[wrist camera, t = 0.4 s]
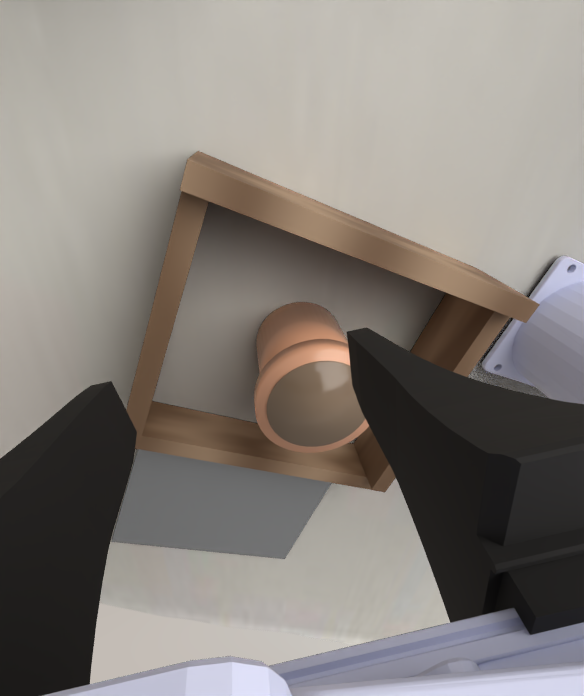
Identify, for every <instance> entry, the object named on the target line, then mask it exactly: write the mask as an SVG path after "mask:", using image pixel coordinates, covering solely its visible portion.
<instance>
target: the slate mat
mask: <svg viewBox="0 0 584 696" xmlns="http://www.w3.org/2000/svg"><path fill="white" fill-rule="evenodd" d="M330 485H331V483H330V482H325V481H319V480H313V479H307V478H302V477H296V476H290V475H284V474H278V473H273V472H267V471H261V470H255V469H250V468H244V467H238V466H232V465H227V464H221V463H215V462H209V461H204V460H198V459H192V458H186V457H181V456H175V455H169V454H163V453H157V452H152V451H146V450H140V449H138V451H137V454H136V458H135V461H134V465H133V468H132V472H131V475H130V479H129V482H128V486H127V489H126V493H125V496H124V500H123V503H122V507H121V510H120V514H119V517H118V521H117V524H116V528H115V531H114V535H113V538H112V542H120V543H130V544H140V545H150V546H160V547H170V548H180V549H190V550H200V551H210V552H219V553H229V554H239V555H249V556H259V557H269V558H279V559H285V558H286V556H287V554H288V553H289V551H290V550H291V548H292V546H293V545H294V543H295V541H296V540H297V538H298V537H299V535H300V533H301V532H302V530H303V528H304V527H305V525H306V524H307V522H308V520H309V519H310V517H311V516H312V514H313V512H314V511H315V509H316V507H317V506H318V504H319V503H320V501H321V499H322V498H323V496H324V494H325V493H326V491H327V490H328V488H329V486H330Z"/></svg>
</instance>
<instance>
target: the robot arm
mask: <svg viewBox="0 0 584 696" xmlns="http://www.w3.org/2000/svg"><path fill="white" fill-rule="evenodd" d="M570 265H571V266H570ZM569 266H570V268H569V269H568V267H569ZM567 269H568V270H567ZM529 298H530V299H531V300H533V301H535V302H537V303H538V304H540V305H539V306H538V308H537V309H536V310H535V312H534V313H533V314H532V316H531V317H530V319H529V320H528V321H527V323H524V322H521V321H519V320H516V319H513V320H512V321H511V323H510V324H509V326H508V327H507V328H506V330H505V331H504V332H503V334H502V335H501V337H500V338H499V339H498V341H497V342H496V344H495V345H494V346H493V348H492V349H491V351H490V352H489V353H488V355H487V356H486V357H485V359H484V360H483V362H482V368H483V369H484V370H485V371H487V372H490V373H493V374H497V375H500V376H503V377H506V378H509V379H512V380H515V381H519V382H522V383H525V384H528V385H531V386H534V387H536V388H538V389H539V390H540V391H541V392H542V393H544V394H545V395H546V396H547V397H548V398H543V397H538V396H533V395H529V394H524V393H520V392H516V391H512V390H508V389H504V388H501V387H497V386H494V385H490V384H486V383H483V382H480V381H477V380H474V379H471V378H468V377H465V376H463V375H460V374H457V373H454V372H452V371H449V370H447V369H444V368H442V367H440V366H437V365H435V364H433V363H431V362H429V361H427V360H424V359H422V358H420V357H418V356H416V355H414V354H412V353H411V352H409V351H407V350H405V349H403V348H401V347H399V346H398V345H396V344H394V343H392V342H391V341H389V340H387V339H386V338H384V337H382V336H380V335H379V334H377V333H375V332H374V331H372V330H370V329H368V328H363V329H358V330H353V331H348V332H347V337H348V347H349V357H350V367H351V377H352V386H353V389H354V392H355V394H356V397H357V400H358V403H359V405H360V408H361V411H362V413H363V415H364V417H365V419H366V421H367V423H368V425H369V426H370V428H371V430H372V432H373V434H374V436H375V438H376V440H377V442H378V444H379V445H380V447H381V449H382V451H383V453H384V455H385V457H386V459H387V461H388V463H389V464H390V466H391V468H392V470H393V472H394V474H395V477H396V479H397V481H398V483H399V485H400V488H401V490H402V493H403V495H404V498H405V500H406V503H407V505H408V508H409V510H410V513H411V516H412V518H413V521H414V523H415V526H416V529H417V531H418V534H419V536H420V539H421V542H422V544H423V547H424V550H425V552H426V555H427V558H428V561H429V563H430V566H431V569H432V572H433V574H434V577H435V580H436V582H437V585H438V588H439V591H440V594H441V597H442V599H443V602H444V605H445V608H446V611H447V614H448V617H449V620H450V622H451V623H447V624H443V625H438V626H434V627H430V628H426V629H422V630H417V631H413V632H409V633H405V634H401V635H396V636H392V637H388V638H384V639H380V640H375V641H371V642H367V643H363V644H358V645H354V646H350V647H346V648H342V649H338V650H333V651H329V652H325V653H321V654H316V655H312V656H308V657H304V658H300V659H295V660H291V661H287V662H283V663H279V664H274V665H270V666H267V665H266V664H265V663H264V662H262V661H257V660H252V659H245V658H239V657H233V656H226V657H217V658H209V659H200V660H191V661H187V662H182V663H178V664H174V665H170V666H166V667H161V668H157V669H153V670H149V671H145V672H140V673H136V674H132V675H127V676H123V677H119V678H115V679H110V680H107V681H102V682H98V683H94V684H90V673H91V663H92V654H93V646H94V638H95V628H96V621H97V614H98V608H99V601H100V594H101V588H102V581H103V576H104V570H105V565H106V559H107V554H108V549H109V544H110V540H111V536H112V532H113V529H114V525H115V522H116V519H117V515H118V512H119V509H120V505H121V502H122V499H123V495H124V492H125V488H126V485H127V482H128V478H129V475H130V471H131V467H132V464H133V459H134V452H135V445H136V436H137V431H136V429H135V427H134V425H133V423H132V421H131V419H130V417H129V415H128V413H127V411H126V409H125V407H124V405H123V403H122V401H121V399H120V397H119V395H118V393H117V391H116V389H115V388H114V386H113V384H112V382H106V383H101V384H97V385H92V386H90V387H88V388H87V389H85V390H84V391H83V392H81V393H80V394H79V395H78V396H76V397H75V398H74V399H73V400H71V401H70V402H69V403H68V404H67V405H65V406H64V407H63V408H62V409H61V410H59V411H58V412H57V413H56V414H55V415H54V416H52V417H51V418H50V419H49V420H48V421H46V422H45V423H44V424H43V425H42V426H41V427H39V428H38V429H37V430H36V431H35V432H33V433H32V434H31V435H30V436H28V437H27V438H26V439H25V440H23V441H22V442H21V443H20V444H18V445H17V446H16V447H15V448H13V449H12V450H11V451H10V452H8V453H7V454H6V455H5V456H3V457H2V458H1V459H0V696H584V264H583V263H581V262H579V261H577V260H575V259H573V258H571V257H568V256H561V257H559V258H557V259H556V261H555V262H554V263H553V264H552V266H551V267H550V269H549V270H548V271H547V273H546V274H545V276H544V277H543V278H542V280H541V281H540V283H539V284H538V285H537V287H536V288H535V289H534V291H533V292H532V294H531V295H530V296H529ZM496 365H497V366H496ZM495 366H496V367H495Z"/></svg>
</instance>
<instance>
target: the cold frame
mask: <svg viewBox="0 0 584 696" xmlns="http://www.w3.org/2000/svg"><path fill="white" fill-rule="evenodd" d="M180 190H181V191H182V192H181V196H180V200H179V204H178V208H177V212H176V216H175V219H174V223H173V227H172V231H171V235H170V239H169V243H168V247H167V251H166V255H165V259H164V263H163V267H162V271H161V275H160V279H159V283H158V287H157V291H156V295H155V299H154V303H153V307H152V311H151V315H150V319H149V323H148V326H147V330H146V334H145V338H144V342H143V346H142V350H141V354H140V358H139V362H138V366H137V370H136V374H135V378H134V382H133V386H132V390H131V394H130V398H129V402H128V406H127V410H126V411H127V413H128V415H129V417H130V419H131V421H132V423H133V425H134V427H135V429H136V431H137V436H136V445H135V449H140V450H146V451H152V452H157V453H163V454H169V455H175V456H181V457H186V458H192V459H198V460H204V461H209V462H215V463H221V464H227V465H232V466H238V467H244V468H250V469H255V470H261V471H267V472H273V473H278V474H284V475H290V476H296V477H302V478H307V479H313V480H319V481H325V482H330V483H336V484H342V485H348V486H353V487H359V488H365V489H371V490H375V491H381V492H386V490H387V489H388V487H389V486H390V485H391V483H392V482H393V480H394V479H395V478H396V477H395V474H394V472H393V470H392V468H391V466H390V464H389V463H388V461H387V459H386V457H385V455H384V453H383V451H382V449H381V447H380V445H379V444H378V442H377V440H376V438H375V436H374V434H373V432H372V430H371V428H370V426H369V427H368V428H367V429H366V430H365V431H364V432H363V433H362V434H361V435H359V436H358V438H357V439H356V441H355V443H354V444H351V443H347V444H345V445H343V446H341V447H338V448H335V449H332V450H328V451H324V452H317V453H302V452H295V451H291V450H287V449H285V448H282V447H280V446H278V445H276V444H275V443H273V442H272V441H271V440H269V439H268V438H267V437H266V436H265V435H264V433H263V432H262V431H261V429H260V427H259V425H258V424H257V423H253V422H248V421H243V420H239V419H234V418H229V417H224V416H220V415H215V414H210V413H206V412H201V411H196V410H191V409H187V408H182V407H177V406H173V405H168V404H163V403H159V402H154V401H152V399H153V395H154V392H155V388H156V385H157V381H158V378H159V374H160V371H161V367H162V364H163V360H164V357H165V353H166V350H167V346H168V343H169V339H170V336H171V332H172V329H173V325H174V322H175V318H176V315H177V311H178V308H179V304H180V301H181V297H182V294H183V290H184V287H185V283H186V280H187V276H188V273H189V269H190V266H191V262H192V259H193V255H194V252H195V248H196V245H197V241H198V238H199V234H200V231H201V227H202V224H203V220H204V217H205V213H206V210H207V206H208V203H209V202H212V203H215V204H217V205H220V206H222V207H225V208H228V209H230V210H233V211H235V212H238V213H241V214H243V215H246V216H248V217H251V218H254V219H256V220H259V221H261V222H264V223H267V224H269V225H272V226H274V227H277V228H280V229H282V230H285V231H287V232H290V233H293V234H295V235H298V236H300V237H303V238H306V239H308V240H311V241H313V242H316V243H319V244H321V245H324V246H326V247H329V248H332V249H334V250H337V251H339V252H342V253H345V254H347V255H350V256H352V257H355V258H358V259H360V260H363V261H365V262H368V263H371V264H373V265H376V266H378V267H381V268H384V269H386V270H389V271H391V272H394V273H397V274H399V275H402V276H404V277H407V278H410V279H412V280H415V281H417V282H420V283H423V284H425V285H428V286H430V287H433V288H436V289H438V290H441V291H443V292H446V294H445V296H444V298H443V299H442V301H441V302H440V304H439V306H438V307H437V309H436V311H435V312H434V314H433V315H432V317H431V319H430V320H429V322H428V324H427V325H426V327H425V328H424V330H423V332H422V333H421V335H420V337H419V338H418V340H417V341H416V343H415V345H414V346H413V348H412V350H411V351H410V352H411V353H412V354H414V355H416V356H418V357H420V358H422V359H424V360H427V361H429V362H431V363H433V364H435V365H437V366H440V367H442V368H444V369H447V370H449V371H452V372H454V373H457V374H460V375H463V376H465V377H468V375H469V374H470V373H471V371H472V370H473V368H474V367H475V366H476V364H477V363H478V361H479V360H480V359H481V357H482V356H483V354H484V353H485V352H486V350H487V349H488V347H489V346H490V345H491V343H492V342H493V340H494V339H495V338H496V336H497V335H498V333H499V332H500V331H501V329H502V328H503V326H504V325H505V324H506V322H507V321H508V319H509V318H510V317H511V318H514V319H516V320H519V321H521V322H524V323H527V321H528V320H529V319H530V317H531V316H532V314H533V313H534V312H535V310H536V309H537V308H538V306H539V305H540V304H538V303H537V302H535V301H533V300H531V299H530V298H528V297H526V296H524V295H523V294H521V293H519V292H517V291H516V290H514V289H512V288H510V287H509V286H507V285H505V284H503V283H502V282H500V281H498V280H496V279H495V278H493V277H491V276H489V275H488V274H486V273H484V272H482V271H481V270H479V269H477V268H474V267H472V266H470V265H467V264H465V263H463V262H460V261H458V260H455V259H453V258H451V257H448V256H446V255H444V254H441V253H439V252H436V251H434V250H432V249H429V248H427V247H425V246H422V245H420V244H417V243H415V242H413V241H410V240H408V239H406V238H403V237H401V236H399V235H396V234H394V233H391V232H389V231H387V230H384V229H382V228H380V227H377V226H375V225H372V224H370V223H368V222H365V221H363V220H361V219H358V218H356V217H353V216H351V215H349V214H346V213H344V212H342V211H339V210H337V209H335V208H332V207H330V206H327V205H325V204H323V203H320V202H318V201H316V200H313V199H311V198H308V197H306V196H304V195H301V194H299V193H297V192H294V191H292V190H289V189H287V188H285V187H282V186H280V185H278V184H275V183H273V182H270V181H268V180H266V179H263V178H261V177H259V176H256V175H254V174H252V173H249V172H247V171H244V170H242V169H240V168H237V167H235V166H233V165H230V164H228V163H225V162H223V161H221V160H218V159H216V158H214V157H211V156H209V155H206V154H204V153H202V152H199V151H198V152H196V153H195V154H194V155H193V156H191V157H190V158H189V159H187V163H186V167H185V171H184V175H183V179H182V183H181V187H180Z"/></svg>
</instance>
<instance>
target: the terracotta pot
mask: <svg viewBox="0 0 584 696" xmlns="http://www.w3.org/2000/svg"><path fill="white" fill-rule="evenodd" d="M256 347H257V355H258V364H259V372H260V374H259V376H258V378H257V381H256V384H255V389H254V404H255V414H256V419H257V422H258V425H259V427H260V429H261V431H262V432H263V433H264V435H265V436H266V437H267V438H268V439H269V440H271V441H272V442H273V443H275V444H276V445H278V446H280V447H282V448H285V449H287V450H291V451H295V452H302V453H317V452H324V451H328V450H332V449H335V448H338V447H341V446H343V445H345V444H347V443H349V442H350V441H352V440H354V439H355V438H357V437H358V436H359V435H361V434H362V433H363V432H364V431H365V430H366V429H367V428H368V427H369V425H368V423H367V421H366V419H365V417H364V415H363V413H362V411H361V408H360V405H359V403H358V400H357V397H356V394H355V392H354V389H353V386H352V377H351V367H350V357H349V347H348V341H347V339H346V337H345V335H344V333H343V332H342V330H341V328H340V326H339V324H338V323H337V321H336V319H335V318H334V316H333V315H332V314H331V313H330V312H329V311H328V310H326V309H325V308H323V307H321V306H319V305H317V304H313V303H308V302H296V303H291V304H287V305H284V306H282V307H280V308H278V309H276V310H275V311H273V312H272V313H271V314H270V315H268V316H267V318H266V319H265V320H264V321H263V323H262V324H261V326H260V328H259V330H258V334H257V338H256Z"/></svg>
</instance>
